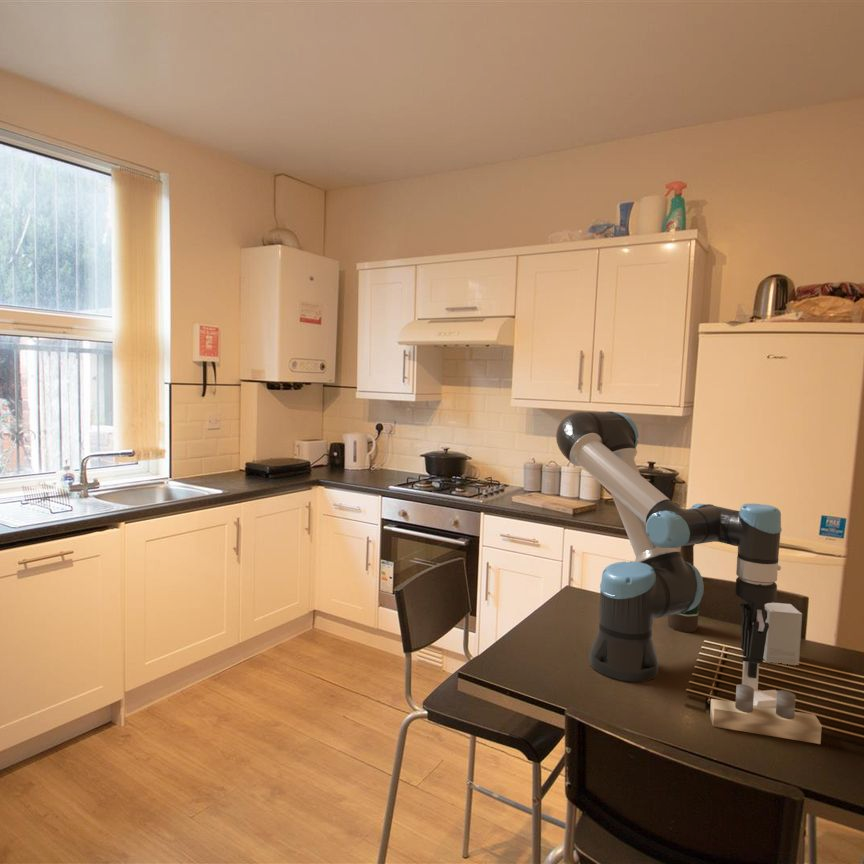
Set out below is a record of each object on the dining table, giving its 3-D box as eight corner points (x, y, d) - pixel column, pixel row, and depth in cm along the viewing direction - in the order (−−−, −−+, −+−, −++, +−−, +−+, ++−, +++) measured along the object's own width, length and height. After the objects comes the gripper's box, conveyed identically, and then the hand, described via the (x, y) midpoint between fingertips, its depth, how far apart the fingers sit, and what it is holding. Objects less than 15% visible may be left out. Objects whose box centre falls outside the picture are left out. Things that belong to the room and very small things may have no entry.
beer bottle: (664, 620, 171) (669, 536, 169) (693, 623, 170) (698, 537, 168) (671, 631, 163) (676, 543, 162) (701, 634, 162) (707, 544, 161)
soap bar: (738, 703, 126) (739, 691, 126) (775, 700, 128) (776, 688, 128) (755, 716, 122) (756, 703, 121) (794, 712, 124) (795, 699, 123)
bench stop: (713, 726, 117) (715, 688, 116) (709, 715, 121) (712, 678, 120) (820, 744, 112) (823, 704, 111) (813, 732, 116) (816, 694, 115)
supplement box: (799, 666, 144) (803, 614, 143) (765, 662, 146) (769, 610, 145) (788, 653, 151) (791, 603, 151) (755, 650, 153) (758, 600, 152)
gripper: (785, 591, 119) (777, 708, 121) (768, 572, 132) (761, 678, 134) (743, 587, 121) (736, 702, 123) (730, 569, 134) (723, 673, 136)
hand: (749, 689), depth 128 cm, fingers closed
